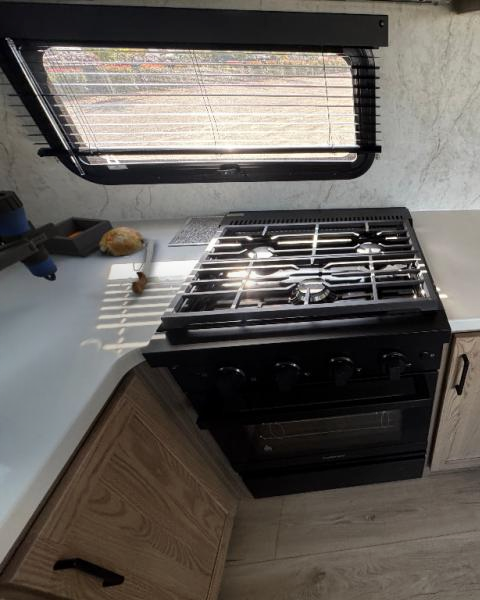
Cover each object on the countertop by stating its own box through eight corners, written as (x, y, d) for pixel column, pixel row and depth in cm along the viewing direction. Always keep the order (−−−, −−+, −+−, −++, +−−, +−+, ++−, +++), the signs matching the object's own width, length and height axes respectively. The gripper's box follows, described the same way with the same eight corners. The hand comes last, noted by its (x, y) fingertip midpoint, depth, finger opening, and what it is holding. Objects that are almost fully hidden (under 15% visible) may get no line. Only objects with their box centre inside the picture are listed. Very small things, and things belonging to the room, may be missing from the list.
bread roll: (144, 264, 100) (147, 239, 97) (97, 259, 94) (99, 232, 91) (143, 249, 107) (146, 225, 104) (99, 244, 100) (101, 218, 97)
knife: (136, 286, 79) (150, 228, 100) (129, 287, 79) (145, 228, 100) (145, 300, 82) (157, 241, 103) (138, 302, 82) (152, 242, 103)
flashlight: (42, 272, 83) (-21, 190, 70) (79, 269, 84) (23, 188, 71) (19, 292, 76) (-53, 205, 64) (59, 288, 77) (-5, 202, 65)
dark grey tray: (38, 253, 97) (26, 235, 94) (79, 232, 107) (69, 215, 104) (86, 258, 96) (74, 240, 92) (122, 236, 106) (113, 220, 102)
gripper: (-59, 274, 56) (69, 215, 74) (-151, 263, 58) (-3, 207, 76) (-25, 310, 61) (88, 245, 79) (-111, 298, 62) (19, 238, 81)
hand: (43, 227), depth 77 cm, fingers closed on flashlight, 5 cm apart
